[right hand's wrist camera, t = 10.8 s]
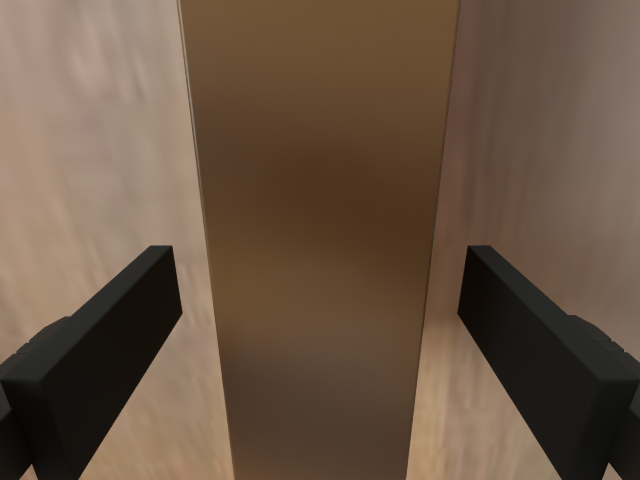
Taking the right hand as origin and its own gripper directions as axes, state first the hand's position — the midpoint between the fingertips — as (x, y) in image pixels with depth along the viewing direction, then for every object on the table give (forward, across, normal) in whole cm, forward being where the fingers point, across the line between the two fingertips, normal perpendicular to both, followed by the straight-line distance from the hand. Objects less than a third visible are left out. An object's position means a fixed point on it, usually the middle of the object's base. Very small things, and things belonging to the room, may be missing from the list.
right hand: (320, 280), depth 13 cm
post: (+3, 0, -26) cm, 26 cm away
